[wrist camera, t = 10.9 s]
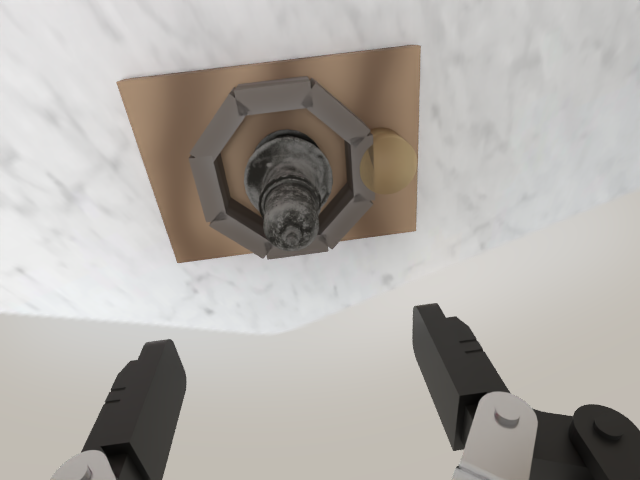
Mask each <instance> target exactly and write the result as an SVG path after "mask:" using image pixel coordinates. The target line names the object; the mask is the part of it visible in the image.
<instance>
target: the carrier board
mask: <svg viewBox="0 0 640 480" xmlns="http://www.w3.org/2000/svg"><path fill="white" fill-rule="evenodd" d="M420 48H421V46H419V45H407V46H399V47H391V48H382V49H374V50H365V51H357V52H349V53H340V54H332V55H323V56H315V57H307V58H298V59H290V60H281V61H273V62H265V63H256V64H248V65H239V66H231V67H223V68H214V69H206V70H197V71H189V72H181V73H172V74H164V75H155V76H147V77H139V78H130V79H124V80H121V81H118V82H116V83H117V85H118V88H119V91H120V94H121V97H122V100H123V103H124V106H125V109H126V112H127V115H128V118H129V121H130V124H131V127H132V130H133V133H134V136H135V139H136V142H137V145H138V148H139V151H140V154H141V157H142V160H143V162H144V165H145V168H146V171H147V174H148V177H149V180H150V183H151V186H152V189H153V192H154V195H155V198H156V201H157V204H158V207H159V210H160V213H161V216H162V219H163V222H164V225H165V228H166V231H167V234H168V237H169V239H170V242H171V245H172V248H173V251H174V254H175V257H176V260H177V263H183V262H190V261H198V260H205V259H212V258H220V257H227V256H235V255H242V254H249V253H254V254H256V255H258V256H259V257H261V258H264V257H265V256H266V255H267V259H276V258H283V257H290V256H298V255H305V254H312V253H320V252H327V251H328V247H330V248H331V249H333V248H334V247H335V246H336V245H337V244H338V242H339V241H346V240H353V239H360V238H368V237H375V236H383V235H390V234H397V233H405V232H412V231H416V209H417V169H418V128H419V88H420ZM286 129H290V130H296V131H299V132H302V133H304V134H306V135H308V136H309V137H310V138H311V139H312V140H314V142H315V143H316V144H317V146H318V147H319V149H320V150H321V151H322V152H323V154H324V155H325V157H326V158H327V159H328V161H329V164H330V167H331V169H332V176H333V185H332V190H331V194H330V196H329V198H328V200H327V202H326V203H325V204H324V205H323V207H322V208H321V211H320V213H319V215H318V219H319V230H318V234H317V236H316V238H315V240H314V241H313V242H312V243H311V244H310V245H309V246H307V247H306V248H304V249H301V250H298V251H284V250H281V249H278V248H276V247H275V246H273V245H272V244H271V243H270V242H269V241H268V239H267V237H266V235H265V233H264V228H263V223H264V220H263V218H262V216H261V214H260V212H259V211H258V210H257V209H256V208H255V206H254V205H253V204H252V203H251V201H250V200H249V198H248V196H247V194H246V190H245V185H244V173H245V168H246V166H247V163H248V160H249V158H250V157H251V156H252V154H253V153H254V151H255V149H256V147H257V145H258V144H259V143H260V141H261V140H262V139H263V138H265V137H266V136H267V135H269V134H270V133H273V132H275V131H278V130H286Z"/></svg>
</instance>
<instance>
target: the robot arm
mask: <svg viewBox="0 0 640 480" xmlns="http://www.w3.org/2000/svg"><path fill="white" fill-rule="evenodd" d="M413 349H414V353H415V357H416V360H417V362H418V365H419V367H420V370H421V372H422V375H423V377H424V380H425V382H426V384H427V387H428V389H429V392H430V394H431V397H432V399H433V402H434V404H435V407H436V409H437V412H438V414H439V417H440V419H441V422H442V424H443V427H444V429H445V432H446V434H447V436H448V439H449V441H450V444H451V447H452V449H453V451H456V450H462V449H464V452H463V455H462V458H461V461H460V464H459V466H457V467H456V469H455V472H454V474H453V478H452V480H640V431H639V429H638V428H637V427H636V426H635V425H634V424H633V423H632V422H631V421H630V420H629V419H628V418H626V417H625V416H624V415H622V414H621V413H619V412H617V411H615V410H613V409H611V408H608V407H605V406H601V405H594V404H593V405H592V404H591V405H590V404H589V405H584V406H581V407H579V408H578V409H577V410H576V411H575V413H574V415H573V416H566V415H560V414H553V413H546V412H541V411H538V410H535V409H532V408H531V407H530V405H529V404H527V403H526V402H525V401H524V400H522V399H521V398H519V397H517V396H515V395H513V394H511V393H510V392H509V390H508V389H507V387H506V386H505V384H504V382H503V381H502V379H501V378H500V376H499V374H498V373H497V371H496V369H495V368H494V366H493V365H492V363H491V362H490V360H489V358H488V357H487V355H486V353H485V352H483V349H482V347H481V346H480V344H479V342H478V341H477V340H476V337H475V336H474V334H473V333H472V331H471V329H470V328H469V326H467V325H466V324H465V323H464V322H462V321H461V320H459V319H458V318H457V317H449V318H446V317H445V315H444V314H443V312H442V310H441V309H440V307H439V305H438V304H437V303H434V304H426V305H419V306H414V308H413ZM185 391H186V374H185V371H184V368H183V365H182V363H181V360H180V358H179V356H178V353H177V350H176V348H175V345H174V343H173V341H172V340H171V339H168V340H160V341H153V342H147V343H146V344H145V345H144V346H143V349H142V351H141V354H140V356H139V358H138V360H134V361H130V362H129V363H128V364H127V365H126V366H125V368H123V369H122V371H121V372H120V373H119V374H118V375H117V377H116V379H115V382H114V384H113V386H112V388H111V392H109V395H108V396H107V399H106V401H105V404H104V405H103V407H102V409H101V411H100V413H99V416H98V418H97V420H96V422H95V424H94V426H93V428H92V431H91V433H90V435H89V437H88V439H87V441H86V443H85V445H84V447H83V450H82V451H81V453H80V454H77V455H75V456H73V457H72V458H70V459H69V460H68V461H66V462H65V463H64V464H63V465H62V466H61V467H60V468H59V469H58V470H57V471H56V472H55V473H54V475H53V476H52V478H51V480H162V478H163V474H164V470H165V467H166V463H167V459H168V455H169V451H170V448H171V444H172V440H173V436H174V433H175V429H176V425H177V421H178V418H179V413H180V410H181V406H182V402H183V399H184V395H185Z"/></svg>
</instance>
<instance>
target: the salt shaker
mask: <svg viewBox="0 0 640 480" xmlns="http://www.w3.org/2000/svg"><path fill="white" fill-rule="evenodd" d="M244 185H245V190H246V194H247V196H248V198H249V200H250V201H251V203H252V204H253V205H254V206H255V208H256V209H257V210H258V211H259V212H260V214H261V216H262V218H263V220H264V223H263V228H264V233H265V235H266V237H267V239H268V241H269V242H270V243H271V244H272V245H273V246H275V247H276V248H278V249H281V250H284V251H298V250H301V249H304V248H306V247H307V246H309V245H310V244H311V243H312V242H313V241H314V240H315V238H316V236H317V234H318V230H319V219H318V215H319V213H320V211H321V208H322V207H323V205H324V204H325V203H326V202H327V200H328V198H329V196H330V194H331V190H332V185H333V176H332V169H331V167H330V164H329V161H328V159H327V158H326V157H325V155H324V154H323V152H322V151H321V150H320V149H319V147H318V146H317V144H316V143H315V142H314V140H312V139H311V138H310V137H309V136H308V135H306V134H304V133H302V132H299V131H296V130H290V129H286V130H278V131H275V132H273V133H270V134H269V135H267V136H266V137H265V138H263V139H262V140H261V141H260V143H259V144H258V145H257V147H256V149H255V151H254V153H253V154H252V156H251V157H250V158H249V160H248V163H247V166H246V168H245V173H244Z"/></svg>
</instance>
